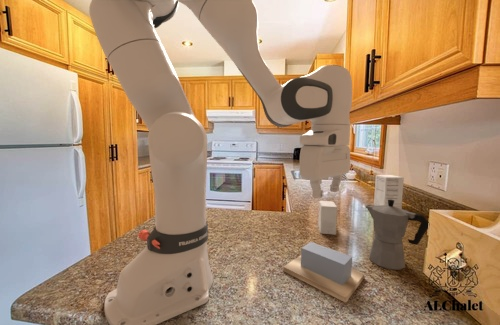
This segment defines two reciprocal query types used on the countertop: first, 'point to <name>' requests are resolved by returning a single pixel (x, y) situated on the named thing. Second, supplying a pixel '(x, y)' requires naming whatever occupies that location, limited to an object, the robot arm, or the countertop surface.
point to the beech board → (325, 280)
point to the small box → (327, 217)
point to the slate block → (326, 262)
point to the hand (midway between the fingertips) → (326, 194)
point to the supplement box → (388, 190)
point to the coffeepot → (392, 234)
